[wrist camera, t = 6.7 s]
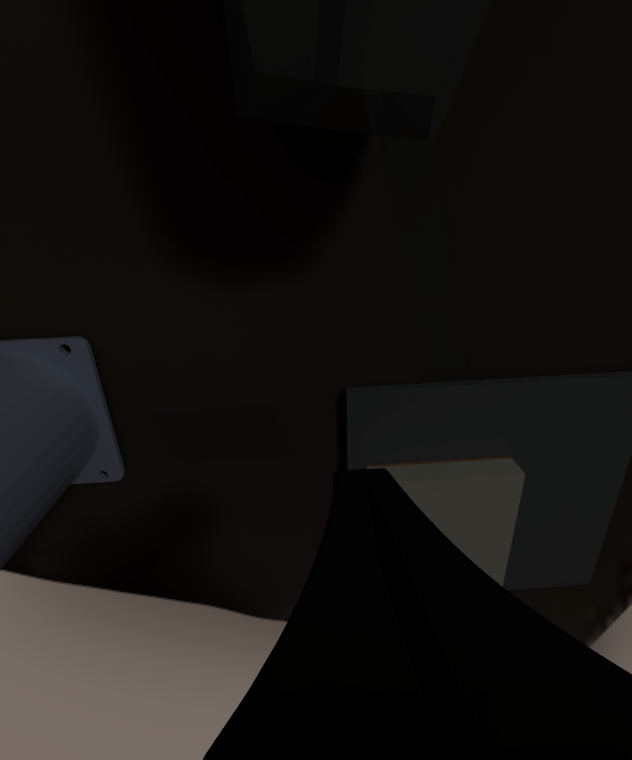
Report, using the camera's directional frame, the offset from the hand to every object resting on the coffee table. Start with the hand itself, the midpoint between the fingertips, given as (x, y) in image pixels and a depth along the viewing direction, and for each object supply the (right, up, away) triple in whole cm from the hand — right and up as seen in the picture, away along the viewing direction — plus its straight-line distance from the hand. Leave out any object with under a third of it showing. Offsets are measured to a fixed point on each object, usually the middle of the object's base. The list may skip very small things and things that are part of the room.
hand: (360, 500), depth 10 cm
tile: (+6, -2, +11) cm, 12 cm away
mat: (+9, -4, +13) cm, 16 cm away
